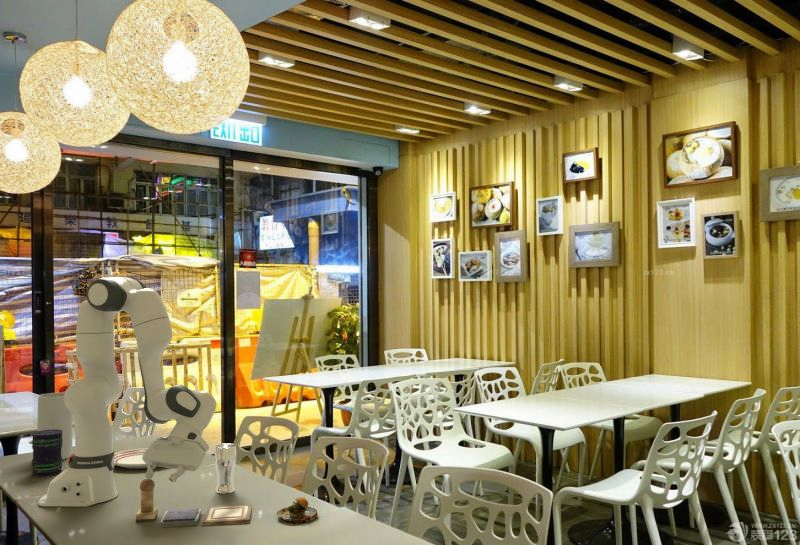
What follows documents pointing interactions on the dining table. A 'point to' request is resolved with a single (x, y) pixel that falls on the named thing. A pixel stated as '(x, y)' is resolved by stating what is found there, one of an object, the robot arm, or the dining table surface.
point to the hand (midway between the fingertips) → (159, 479)
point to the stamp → (147, 502)
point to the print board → (227, 515)
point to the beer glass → (225, 467)
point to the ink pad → (180, 518)
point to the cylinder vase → (56, 419)
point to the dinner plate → (131, 459)
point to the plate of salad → (298, 512)
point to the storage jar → (47, 453)
